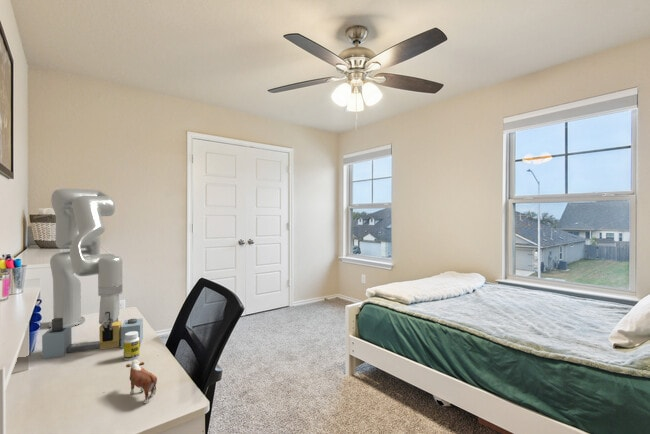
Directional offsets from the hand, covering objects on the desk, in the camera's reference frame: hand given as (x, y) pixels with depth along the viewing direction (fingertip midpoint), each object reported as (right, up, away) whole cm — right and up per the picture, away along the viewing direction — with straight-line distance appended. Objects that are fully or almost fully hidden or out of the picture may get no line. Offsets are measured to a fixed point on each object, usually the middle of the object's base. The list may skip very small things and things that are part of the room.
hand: (110, 336), depth 123 cm
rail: (-4, -4, -2) cm, 6 cm away
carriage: (0, -4, 0) cm, 4 cm away
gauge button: (-15, +4, -6) cm, 17 cm away
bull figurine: (+29, -5, -31) cm, 43 cm away
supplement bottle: (+13, -4, -9) cm, 16 cm away
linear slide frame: (-4, -4, -2) cm, 6 cm away
